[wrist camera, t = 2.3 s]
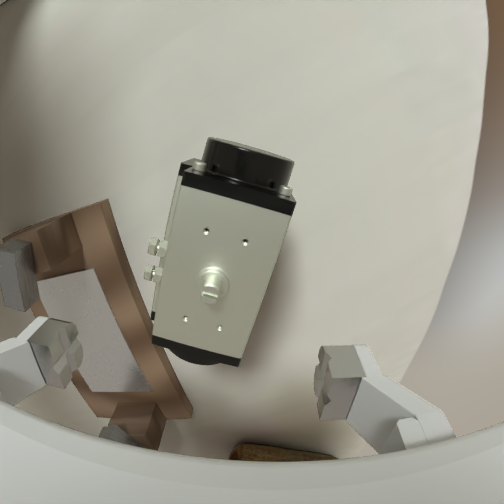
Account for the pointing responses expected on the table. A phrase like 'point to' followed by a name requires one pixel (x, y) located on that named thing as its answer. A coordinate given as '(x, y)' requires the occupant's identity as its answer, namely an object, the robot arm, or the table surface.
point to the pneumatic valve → (219, 250)
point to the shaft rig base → (125, 309)
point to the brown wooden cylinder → (273, 454)
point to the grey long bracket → (77, 323)
